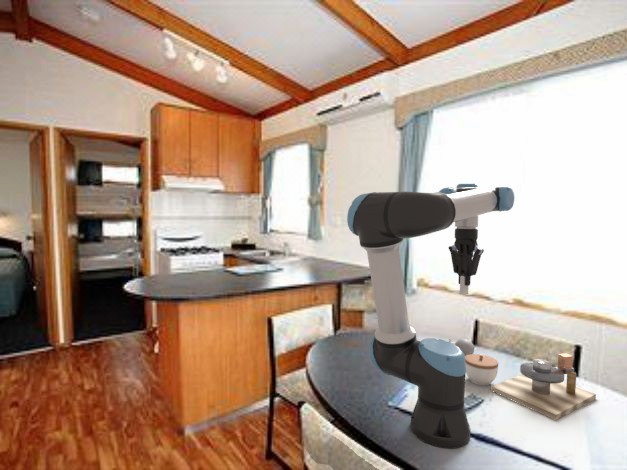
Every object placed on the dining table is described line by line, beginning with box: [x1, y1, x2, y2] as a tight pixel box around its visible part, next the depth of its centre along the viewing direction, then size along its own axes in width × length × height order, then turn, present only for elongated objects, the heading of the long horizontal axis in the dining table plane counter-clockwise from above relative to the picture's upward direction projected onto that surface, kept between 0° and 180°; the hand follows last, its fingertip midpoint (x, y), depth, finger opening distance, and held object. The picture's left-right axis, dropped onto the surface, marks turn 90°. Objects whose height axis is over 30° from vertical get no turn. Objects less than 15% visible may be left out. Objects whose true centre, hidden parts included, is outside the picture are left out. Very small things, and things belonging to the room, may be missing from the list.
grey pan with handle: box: [519, 353, 575, 383], centre depth 120 cm, size 18×12×6 cm
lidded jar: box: [465, 353, 499, 387], centre depth 129 cm, size 11×11×9 cm
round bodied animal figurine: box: [448, 338, 475, 356], centre depth 149 cm, size 7×12×8 cm, turn 66°
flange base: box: [490, 371, 597, 421], centre depth 120 cm, size 24×20×8 cm
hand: (463, 294), depth 133 cm, fingers closed
